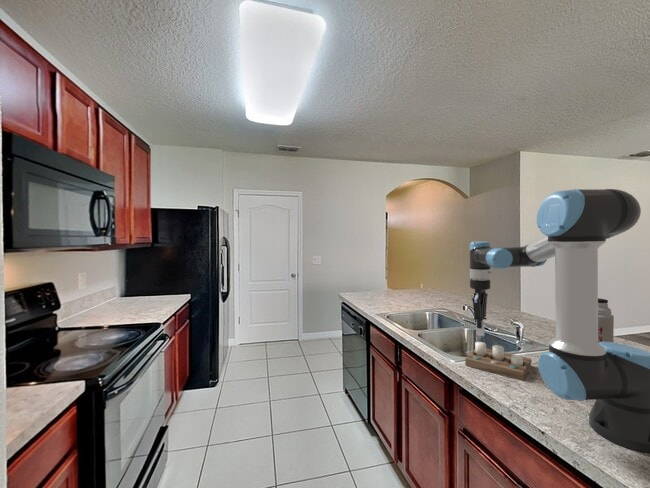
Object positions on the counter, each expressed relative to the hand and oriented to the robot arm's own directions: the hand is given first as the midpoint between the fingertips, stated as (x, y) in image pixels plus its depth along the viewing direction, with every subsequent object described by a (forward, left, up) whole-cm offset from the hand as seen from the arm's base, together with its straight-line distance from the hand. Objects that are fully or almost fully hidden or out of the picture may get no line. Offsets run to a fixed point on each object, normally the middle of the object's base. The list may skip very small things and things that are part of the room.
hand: (480, 335), depth 127 cm
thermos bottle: (+16, -37, -11) cm, 41 cm away
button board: (0, -7, -11) cm, 13 cm away
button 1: (0, -13, -11) cm, 17 cm away
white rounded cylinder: (0, 0, -9) cm, 9 cm away
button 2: (0, -7, -9) cm, 11 cm away
